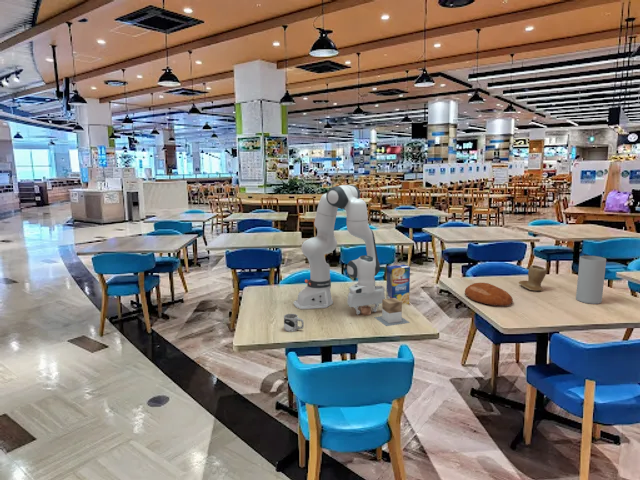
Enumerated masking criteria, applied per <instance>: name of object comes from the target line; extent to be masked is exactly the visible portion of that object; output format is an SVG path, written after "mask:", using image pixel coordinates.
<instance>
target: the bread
mask: <svg viewBox="0 0 640 480" xmlns="http://www.w3.org/2000/svg"><path fill="white" fill-rule="evenodd" d="M464 294H465V296H466V297H467V298H469V299H471V300H472V301H474V302H477V303H481V304H485V305H490V306H496V307H497V306H500V307H502V306H503V307H505V306H509V305H511V304H512V303H513V300H514V299H513V297H512V296H511V294H509V292H507V291H505V290H504V289H502V288H501V287H498V286H496V285H494V284H491V283H488V282H476V283H472V284H470V285H468V286H467V287H466V288H465V290H464Z"/></svg>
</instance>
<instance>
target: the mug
mask: <svg viewBox="0 0 640 480" xmlns="http://www.w3.org/2000/svg"><path fill="white" fill-rule="evenodd" d="M299 322H301V326H299ZM283 328H284V331H285V332H288V333H292V332H296V331H298V330H302V329H304V319H302V318H300V317H299V316H298V314H296V313H287V314H284V315H283Z"/></svg>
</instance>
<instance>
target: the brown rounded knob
mask: <svg viewBox="0 0 640 480" xmlns="http://www.w3.org/2000/svg"><path fill="white" fill-rule="evenodd" d="M360 314H361V315H362V316H370V315H371V314H372V307H371V305H365V306H360Z"/></svg>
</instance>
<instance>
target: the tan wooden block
mask: <svg viewBox="0 0 640 480" xmlns="http://www.w3.org/2000/svg"><path fill="white" fill-rule="evenodd" d="M381 305H382V308H381V310H382V309H383V310H385V311H386V312H388V313H396V312H402V309H403V307H402V306H403V304H402V302H401V301H399V300H398V299H396V298H390V299H386V298H385V299H382V303H381ZM402 313H403V312H402Z"/></svg>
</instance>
